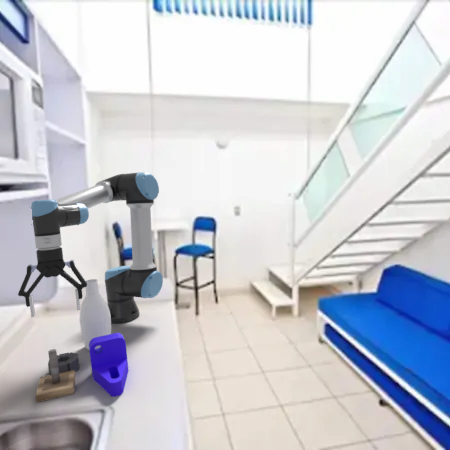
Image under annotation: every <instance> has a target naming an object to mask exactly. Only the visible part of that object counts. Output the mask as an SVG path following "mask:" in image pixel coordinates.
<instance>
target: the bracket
mask: <svg viewBox="0 0 450 450" xmlns="http://www.w3.org/2000/svg"><path fill="white" fill-rule="evenodd" d="M96 346H101V347H100V348H98V349H95V347H96ZM88 351H89V357H90V366H91V374H92V379H93V381H94V382H95V383H96V384H98V385H99V387H101V389H102V390H103V391H105V392H106V393H108V395H110V396H111V397H115V398H116V397H119V396H121V395H123V393H124V391H125V387H126V382H127V379H128V378H127V377H128V375H129V371H130V370H129V362H128V354H127V343H126V340H125V338H124V335H123V334H122V333H121V332H114V333H111V334H109V335H104V336H100V337H95V338H93V339H92V340H91V341H90V342H89V350H88Z"/></svg>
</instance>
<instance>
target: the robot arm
mask: <svg viewBox="0 0 450 450" xmlns="http://www.w3.org/2000/svg"><path fill="white" fill-rule="evenodd" d="M159 193H160V187H159V183H158V180H157V179H156V177H155V176H154V175H153V174H152V173H150V172H145V171H144V172H139V171H138V172H131V173H119V174H116V175H113V176H111V177H107V178H105V179H103V180H100V181H97V182H96V184H95V185H93V186H90V187H88V188H86V189H83V190H79V191H76V192H74V193H71V194H68V195H66V196H62V197H60V198H57V199H39V200H37V199H36V200H33V201H32V202H31V206H30V207H31V209H32V220H33V225H32V227H33V234H34V242H35V243H34V244H35V249H37V250H36V259H37V260H36V262H37V264H36V265H32V264H28V265H27V266H26V274H25V277H24V279H23V281H22V283H21V286H20V288H19V290H18V292H17V295H18V296H19V297H24V298H25V306H26V308H28V307H29V309H30V317H31V318H34V317H35V315H36V311H35V302H34V301H35V300H34V294H32V293H33V291H34V290H35V288H36V287H37V286H38V284H39V283H40V282H41V280H43V278H44V277H45V278H46V279H47V278H48V279H49V278H51V277H54V278H56V277H58V276H61V277H62V278H64V279H65V280H66V281H67V282H68V283H69V284H71V285H72V286H73V287H74V288H75V291H74V292H75V301H76V310H77V311H80V310H81V306H80V305H81V304H80V300H82V299H83V289H85V288H86V286H87V282H86V281H87V280H85V278H84V277H83V275H82V273H80V271H79V269H78V267H76V264H75V260H74V259H70V260H68V261H65V260H64V255H63V248H62V247H61V246H62V236H61V235H62V234H61V228H63V227H71V226H79V225H83V224H85V223H86V222H87V221H88V220H89V218H90V217H89V216H90V214H89V209H90V208H92V207H94V206H97V205H100V204H102V203H103V204H109V203H111V202H118V201H119V202H121V201H125V205H126V206H127V207H128V208H129V210H130V214H129V215H130V231H131V232H130V234H131V254H132V256H131V257H132V264H131V265H129V264H128V265H122V266H116V267H113V268H109V269H108V270H106V271H105V272H104V283H105V293H106V303H107V305H108V307H109V311H110V314H111V324H120V323H127V322H131V321H133V320H136V319H137V318H138V317H139V316H140V309H139V307H138V305H137V302H136V300H135V298H142V299H153V298H155V297H156V296H158V295H159V293H160V291H161V289H162V287H163V282H164V278H163V274H162V272H160V271H158V269H157V265H156V264H155V262H154V259H153V254H154V253H153V235H152V215H151V214H152V213H151V211H152V210H151V209H152V207H153V205H154V204H155V201H154V200H156V199H157V198H158V196H159ZM66 266H67V267H68V268H69V269H71V271H72V272H73V274H74V275H75V277H76V278H77V279H78V281H79V282H78V281H77V280H76V279H75V278H73V277H72V276H71V275H70V274H69V273H67V272H66V270H64V268H65V267H66ZM35 270H37V271H38V272H39V275H38V276H37V277H36V279H35V280H34V281H33V282H32V284H31V286H30V287H28V290H27V291H25V290H26V287H27V285H28V283H29V281H30V278H31V276H32V274H33V273H34V271H35Z"/></svg>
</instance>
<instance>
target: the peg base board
mask: <svg viewBox="0 0 450 450" xmlns="http://www.w3.org/2000/svg"><path fill="white" fill-rule="evenodd" d="M57 355H58V354H57V349H55V348H53V349H49V350H48V362H49V361H50V369H51V375H49V374H48V375H45V376H40V377H39V381H38V386H37V390H36V392H35V400H36V403H39V402H43V401H46V400H51V399H52V400H53V399H54V398H55V399H57V398H60V397H65V396H69V395H73V394H75V387H76V385H75V383H76V372H75V370H72V371H67V372H62V373H59V367H58V360H57Z"/></svg>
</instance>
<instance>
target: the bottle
mask: <svg viewBox="0 0 450 450" xmlns="http://www.w3.org/2000/svg"><path fill="white" fill-rule="evenodd" d="M85 281H86V282H87V286H86V287H85V296H84V299H83V300H82V302H81V304H80V305H81V306H80V310H79V324H80V331H81V332H80V333H81V336H82V340H83V343H84V347H85V349H87V350H88V351H89V342H90V341H91V340H92V339H93V338H95V337H100V336H104V335H109V334H112V323H111V314H110V311H109V307H108V305H107V303H108V302H107V300H106V299H105V298H104V297H103V295H102V294H101V292H100V290H99V284H98V279H96V278H93V279H92V278H91V279H88V280H85ZM100 347H101V346H96V347H95V349H98V348H100Z"/></svg>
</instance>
